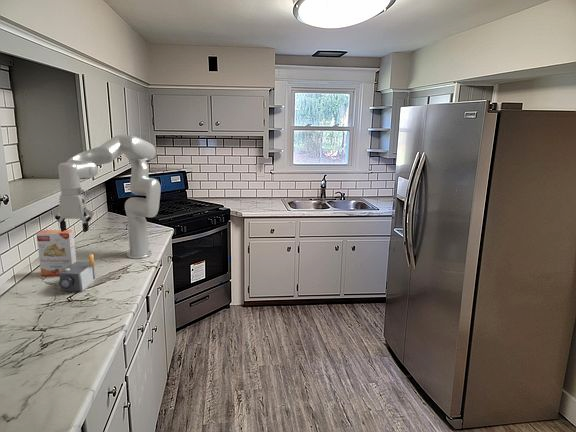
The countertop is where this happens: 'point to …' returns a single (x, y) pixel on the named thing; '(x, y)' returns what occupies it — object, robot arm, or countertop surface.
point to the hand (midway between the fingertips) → (74, 231)
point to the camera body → (72, 276)
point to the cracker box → (55, 251)
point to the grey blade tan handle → (86, 274)
